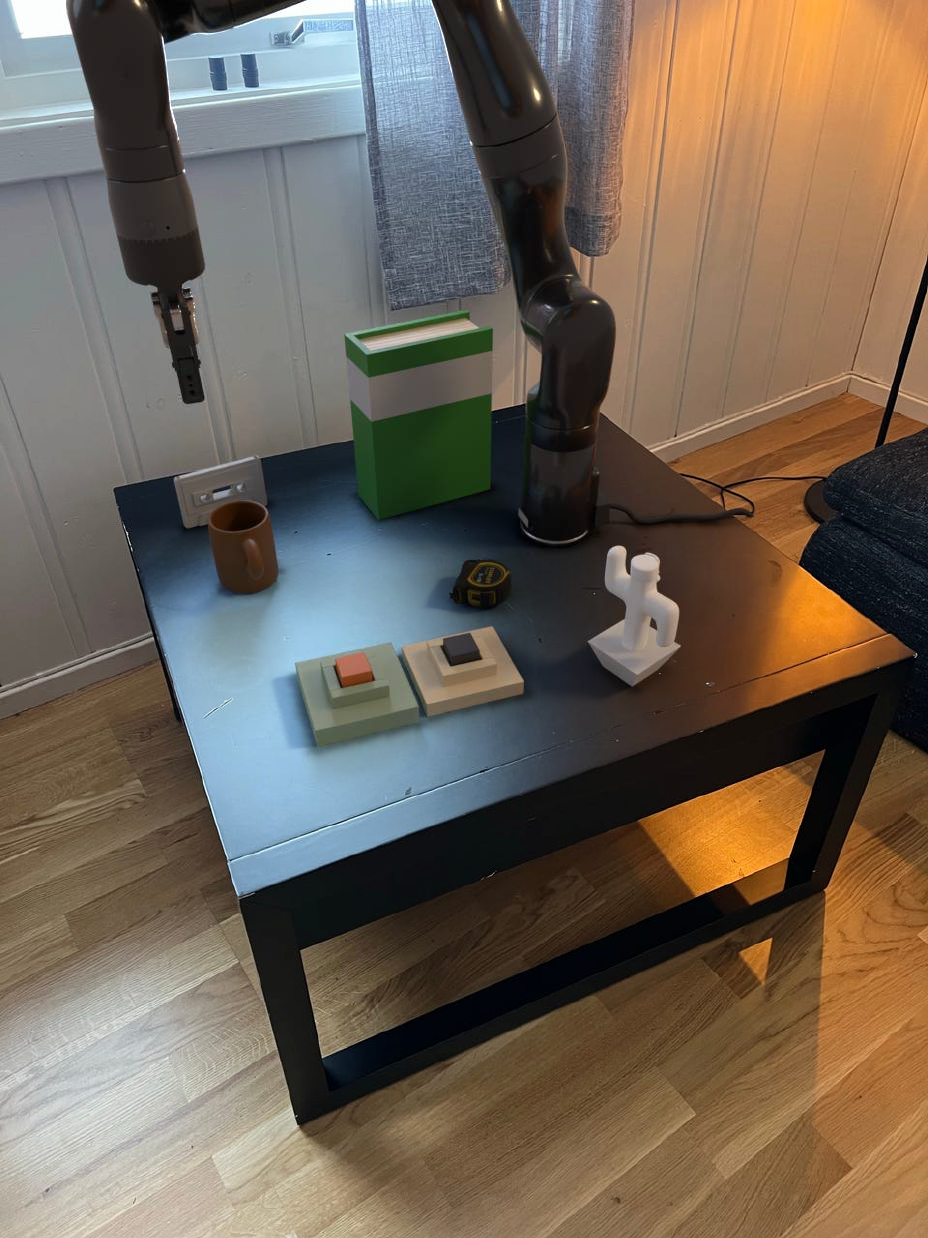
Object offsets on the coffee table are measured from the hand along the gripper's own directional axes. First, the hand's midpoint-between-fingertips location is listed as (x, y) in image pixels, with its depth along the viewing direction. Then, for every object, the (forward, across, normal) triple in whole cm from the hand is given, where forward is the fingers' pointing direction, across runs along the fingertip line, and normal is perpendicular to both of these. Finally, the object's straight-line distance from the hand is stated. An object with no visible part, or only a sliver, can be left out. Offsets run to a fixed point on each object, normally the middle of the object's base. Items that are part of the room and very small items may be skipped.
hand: (190, 384), depth 98 cm
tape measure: (+29, -10, -29) cm, 42 cm away
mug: (+28, +1, -2) cm, 29 cm away
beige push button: (+28, -23, -22) cm, 43 cm away
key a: (+25, -23, -22) cm, 41 cm away
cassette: (+28, +19, -1) cm, 34 cm away
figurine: (+29, -28, -41) cm, 57 cm away
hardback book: (+29, +16, -29) cm, 44 cm away
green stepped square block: (+28, -23, -10) cm, 38 cm away
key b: (+25, -23, -10) cm, 35 cm away
